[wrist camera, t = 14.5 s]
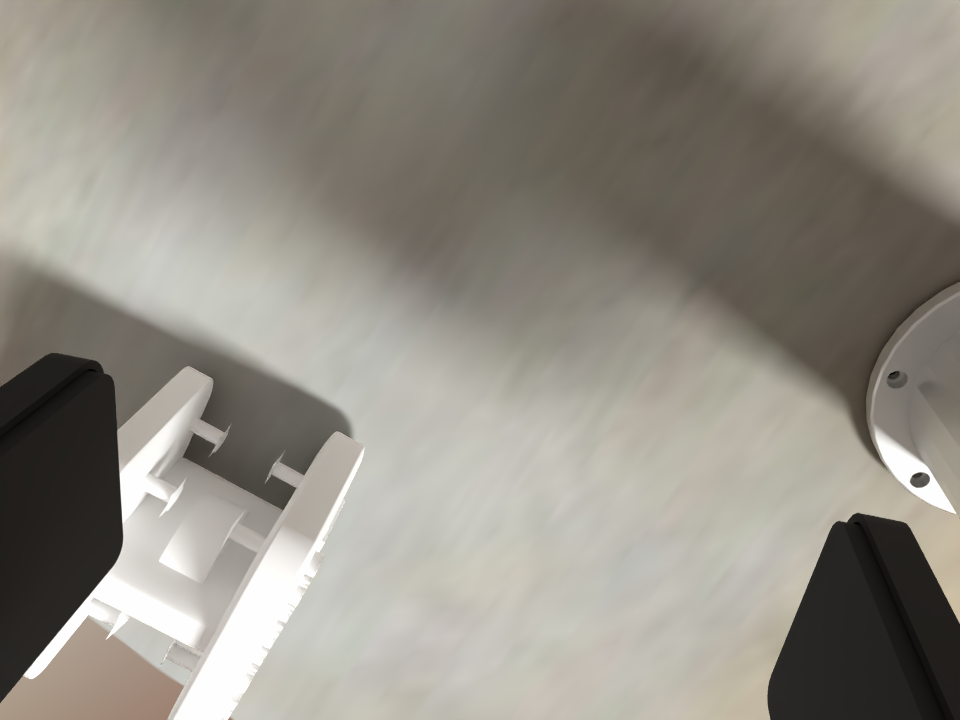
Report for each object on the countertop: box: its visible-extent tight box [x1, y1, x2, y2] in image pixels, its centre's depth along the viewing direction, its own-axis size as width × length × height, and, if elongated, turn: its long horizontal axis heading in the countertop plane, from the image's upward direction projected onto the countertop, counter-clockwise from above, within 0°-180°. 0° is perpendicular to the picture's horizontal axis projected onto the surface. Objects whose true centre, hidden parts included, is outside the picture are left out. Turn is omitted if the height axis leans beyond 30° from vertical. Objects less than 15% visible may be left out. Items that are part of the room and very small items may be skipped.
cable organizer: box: [23, 366, 365, 720], centre depth 42 cm, size 15×11×12 cm
